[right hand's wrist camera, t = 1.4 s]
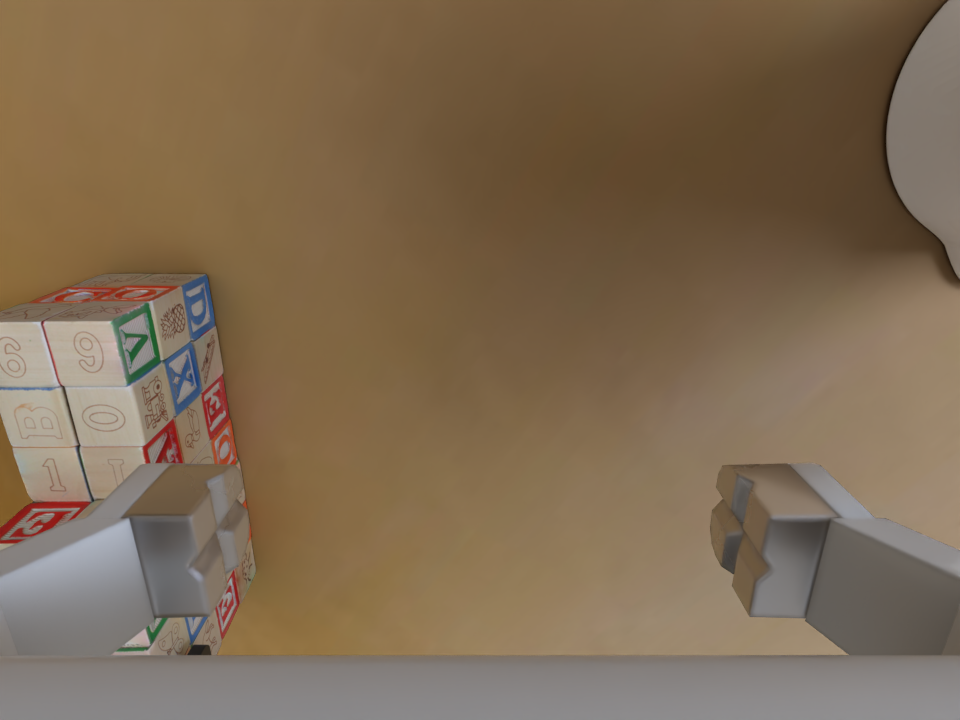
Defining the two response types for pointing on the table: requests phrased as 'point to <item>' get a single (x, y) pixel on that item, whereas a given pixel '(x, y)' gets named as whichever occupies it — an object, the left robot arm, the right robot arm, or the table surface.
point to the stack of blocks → (117, 411)
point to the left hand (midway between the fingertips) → (124, 655)
